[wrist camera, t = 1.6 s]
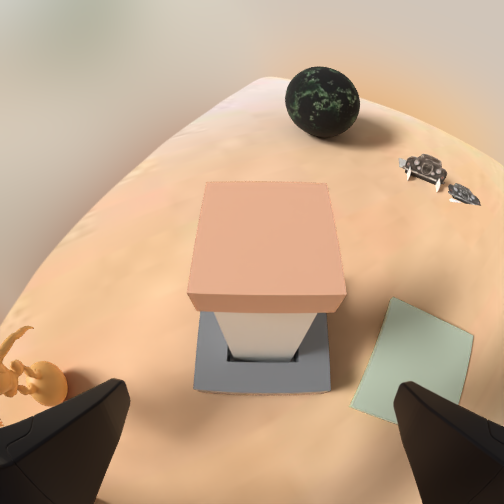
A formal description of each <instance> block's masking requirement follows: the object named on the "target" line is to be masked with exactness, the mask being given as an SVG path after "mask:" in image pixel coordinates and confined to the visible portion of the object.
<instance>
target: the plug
mask: <svg viewBox="0 0 504 504" xmlns="http://www.w3.org/2000/svg"><path fill="white" fill-rule="evenodd" d="M187 294H188V296H189V298H190V300H191V301H192V303H193V305H194V307H195V309H196V310H197V311H205V312H214V314H215V316H216V319H217V321H218V323H219V326H220V328H221V330H222V333H223V335H224V337H225V340H226V342H227V344H228V346H229V349H230V351H231V353H232V355H233V358H234V360H235V361H237V362H290V361H291V359H292V357H293V356H294V354H295V352H296V351H297V349H298V347H299V345H300V344H301V342H302V340H303V338H304V337H305V335H306V333H307V331H308V329H309V328H310V326H311V324H312V322H313V320H314V318H315V317H316V315H317V313H331V312H336V310H337V309H338V307H339V306H340V304H341V303H342V301H343V299H344V298H345V296H346V295H347V293H346V286H345V279H344V272H343V265H342V259H341V253H340V247H339V241H338V236H337V230H336V225H335V220H334V215H333V210H332V205H331V200H330V196H329V191H328V187H327V183H307V182H267V181H234V182H206V187H205V192H204V197H203V202H202V207H201V212H200V217H199V223H198V228H197V234H196V239H195V245H194V251H193V257H192V263H191V269H190V276H189V282H188V289H187Z"/></svg>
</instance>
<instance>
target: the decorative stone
mask: <svg viewBox="0 0 504 504" xmlns="http://www.w3.org/2000/svg"><path fill="white" fill-rule="evenodd" d="M285 103H286V108H287V111H288V114H289V116H290V117H291V119H292V120H293V122H294V123H295V124H296V125H297V126H298V127H299V128H301V129H302V130H303V131H305V132H307V133H309V134H312V135H315V136H321V137H330V136H335V135H338V134H341V133H343V132H344V131H346V130H347V129H348V128H350V127H351V126H352V125H353V123H354V122H355V120H356V118H357V116H358V113H359V109H360V100H359V95H358V92H357V90H356V88H355V87H354V85H353V83H352V82H351V81H350V80H349V79H348V78H347V77H346V76H345V75H344V74H342V73H340V72H339V71H336V70H334V69H331V68H327V67H311V68H308V69H306V70H304V71H302V72H300V73H299V74H297V75H296V76H295V77H294V78H293V79H292V80H291V82H290V83H289V85H288V87H287V91H286V96H285Z"/></svg>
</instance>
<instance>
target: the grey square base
mask: <svg viewBox="0 0 504 504" xmlns="http://www.w3.org/2000/svg"><path fill="white" fill-rule="evenodd" d="M193 389H194V390H197V391H199V392H206V393H219V394H236V395H305V394H322V393H326V392H328V391H331V385H330V360H329V343H328V328H327V315H326V313H317V315H316V317H315V318H314V320H313V322H312V324H311V326H310V328H309V329H308V331H307V333H306V335H305V337H304V338H303V340H302V342H301V344H300V345H299V347H298V349H297V351H296V352H295V354H294V356H293V357H292V359H291V361H290V362H237V361H235V360H234V358H233V355H232V353H231V351H230V349H229V346H228V344H227V342H226V340H225V337H224V335H223V333H222V330H221V328H220V326H219V323H218V321H217V319H216V316H215V314H214V312H205V311H200V320H199V330H198V340H197V351H196V362H195V374H194V387H193Z"/></svg>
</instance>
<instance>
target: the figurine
mask: <svg viewBox="0 0 504 504" xmlns="http://www.w3.org/2000/svg"><path fill="white" fill-rule="evenodd" d="M32 328H33V327H31V326H24V327H21V328H20V329H18V330H17V331H16V332H15V333H12V334H11V335H10V336H9V337H7V338H6V339H5V341H4V342H3V343H2V344H1V345H0V395H1V394H4V395H5V396H7V397H13V396H14V395H16V394H17V390H18V391H19V392H20V393H21V394H23V395H28V394H31V396H32V397H33V398H34V399H35V400H36V401H37V402H39V403H40V404H42V405H45V406H56V405H58V404H60V403H62V402H63V401H64V399H65V398H66V395H67V391H68V386H67V381H66V378H65V376H64V374H63V372H62V371H61V370H60V369H59V368H58V367H57V366H56V365H54V364H52V363H50V362H46V361H40V362H36V363H34V364H33V365H32V366H31V367H26V366H24V365H23V364H22V362H20V361H19V360H15V361H12V362H10V370H9V369H7V368H6V367H5V366H4V365H3V364H2V361H3V358H4V357H5V355H6V354H7V352H8V351H9V350H10V348H11V347H12V345H13V343H14V342H15V340H17V339H19V338H20V337H21V336H22V335H23V334H24V333H25V332H26V331H27V330H28V329H32ZM33 329H34V328H33ZM23 371H24V373H25V374H26V375H27V376H26V383H27V387H25V386H23V385H18V377H19V376H20V375H21V374H22V373H23ZM0 420H1V419H0ZM2 423H3V422H0V426H4V425H2Z"/></svg>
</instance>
